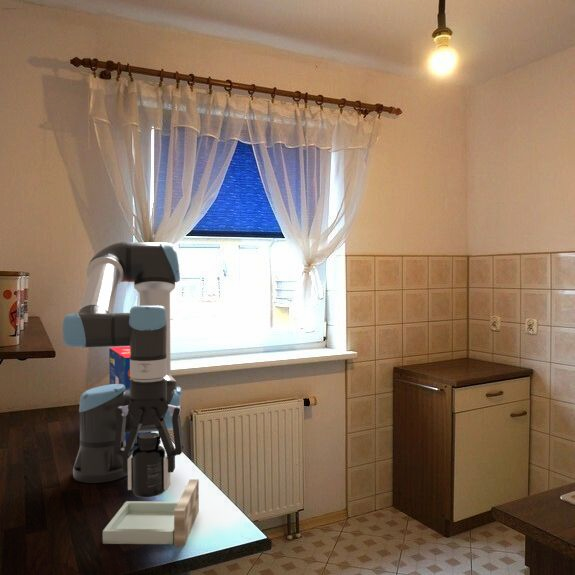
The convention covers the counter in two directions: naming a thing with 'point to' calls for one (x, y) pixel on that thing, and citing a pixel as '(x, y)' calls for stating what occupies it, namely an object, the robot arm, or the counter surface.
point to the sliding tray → (142, 523)
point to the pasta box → (121, 371)
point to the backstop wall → (186, 512)
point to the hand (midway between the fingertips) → (149, 487)
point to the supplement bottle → (148, 466)
